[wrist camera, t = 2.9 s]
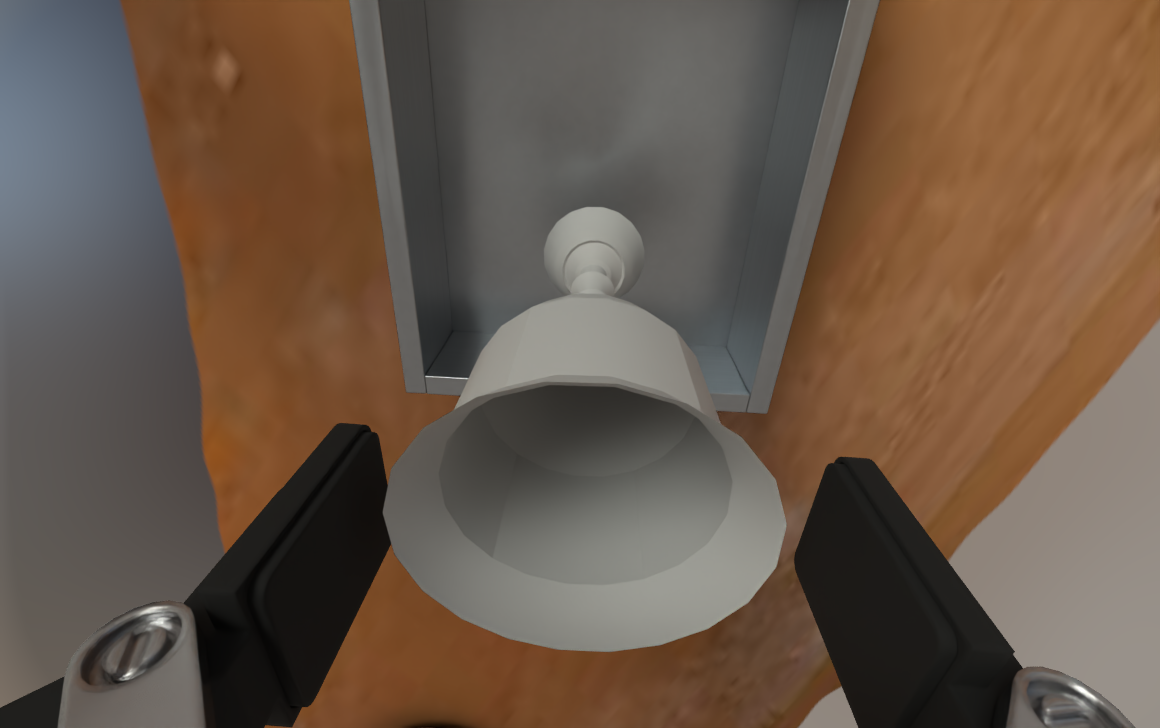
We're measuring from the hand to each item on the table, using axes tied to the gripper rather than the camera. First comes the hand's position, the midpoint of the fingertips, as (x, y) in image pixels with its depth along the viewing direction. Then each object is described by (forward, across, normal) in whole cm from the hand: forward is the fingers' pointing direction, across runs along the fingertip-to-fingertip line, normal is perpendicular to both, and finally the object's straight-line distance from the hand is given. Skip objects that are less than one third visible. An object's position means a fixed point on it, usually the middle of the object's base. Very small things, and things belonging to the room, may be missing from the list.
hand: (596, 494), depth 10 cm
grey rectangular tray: (+17, 0, -5) cm, 18 cm away
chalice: (+17, 0, 0) cm, 17 cm away
